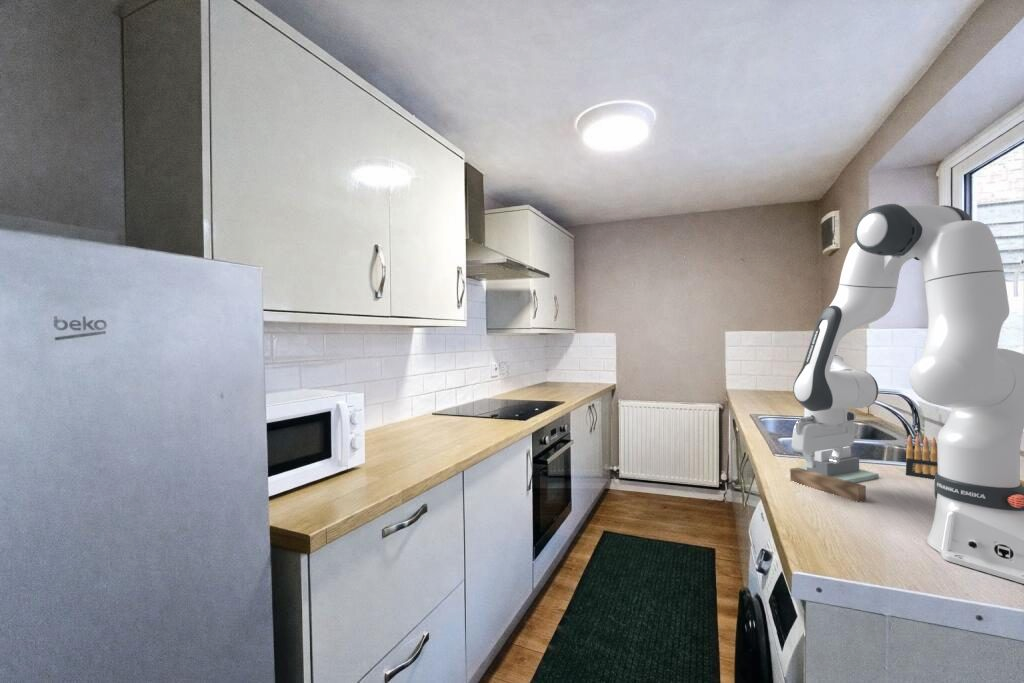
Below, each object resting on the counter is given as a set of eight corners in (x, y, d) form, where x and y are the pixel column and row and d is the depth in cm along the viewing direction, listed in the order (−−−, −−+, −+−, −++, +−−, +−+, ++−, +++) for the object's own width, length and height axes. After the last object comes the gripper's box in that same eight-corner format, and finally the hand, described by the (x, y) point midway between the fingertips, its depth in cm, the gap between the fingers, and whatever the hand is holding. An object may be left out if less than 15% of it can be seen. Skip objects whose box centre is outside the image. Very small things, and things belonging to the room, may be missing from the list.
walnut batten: (865, 501, 116) (865, 485, 116) (858, 503, 114) (858, 487, 114) (797, 481, 132) (797, 467, 132) (790, 482, 131) (790, 468, 131)
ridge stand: (878, 477, 133) (878, 450, 133) (836, 486, 126) (836, 457, 126) (829, 465, 146) (829, 440, 146) (789, 472, 139) (789, 446, 139)
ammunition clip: (905, 475, 135) (905, 434, 135) (906, 473, 137) (905, 433, 136) (956, 482, 128) (955, 440, 128) (956, 481, 129) (955, 438, 129)
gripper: (808, 419, 117) (807, 473, 117) (860, 413, 124) (859, 463, 125) (785, 415, 123) (784, 466, 123) (836, 409, 130) (835, 457, 131)
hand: (822, 465), depth 124 cm, fingers open, 8 cm apart
